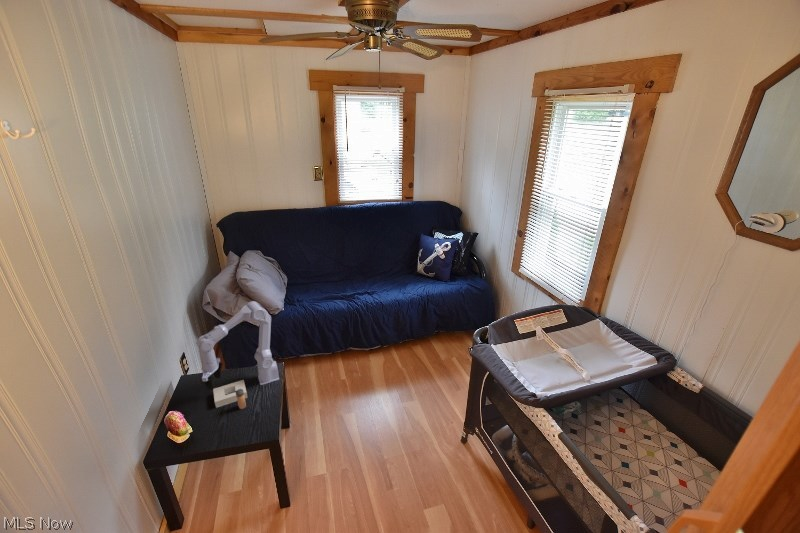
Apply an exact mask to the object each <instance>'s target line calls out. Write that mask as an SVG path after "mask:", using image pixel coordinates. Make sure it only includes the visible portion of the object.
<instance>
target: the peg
mask: <svg viewBox="0 0 800 533" xmlns="http://www.w3.org/2000/svg"><path fill="white" fill-rule="evenodd" d="M235 392H236V396H237V401H236V402H237V406H238V409H240V410H243V409H245V408H246V407H247V403H246V398H245V397H244V392H243V389H238V390H237V391H235Z"/></svg>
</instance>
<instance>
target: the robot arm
mask: <svg viewBox="0 0 800 533" xmlns="http://www.w3.org/2000/svg"><path fill="white" fill-rule="evenodd" d="M252 319H253V320H254V321H258V322H259V329H258V347H257V348H256V352H255V354H254V359H255V361H256V362H257V364H256V367H257V371H258V375H257V379H258V382H259V384H260V386H264V385H266V384H269V383H272V382H276V381H279V380H280V376H279V369H278V365H277V361H276V360H274V359H273V357H272V356H273V355H272V352H271V347H270V346H271V331H272V330H271V329H272V328H271V326H272V316H271V315H270V314H269V312H268V311H267V310H266V308H264V306H262V305H261V304H260V303H259V302H257V301H254V300H252V301H249V302H248V303H247V304H245V305H243V306H242V308H241V309H240V310H239V311H238V312H236V314H235V315H233V316H232V317H231V318H230V319H229V320H228V321H227V322H225V323H223V324H218V325H215V326H214V327H213V329H211V330H210V331H209V332H207V333H205V334H204V335H201V336H200V337H198V338H197V340H196V343H195V344H196V346H198V349H199V356H200V360H201V362H202V365H203V366H202V367H201V370H202V371H203V372H202V376H201V378H200V382H201V383H203V384H204V385H206V387H207V389H208V390H213V389H215V385H214V381H215V379H221V377H222V368H223V365H224V363H223V362H221V358H220V357H216V352H215V350H214V347H215V345H216V344H217V343H218V342H220V341H221V340H222V339H223V338H225V337H226V336H227V335H228V334H229V331H231V329H233V328H234V327H235V326H237V325H239V324H240V323H241V322H243V321H250V322H251V321H253V320H252ZM211 375H213V376H211Z"/></svg>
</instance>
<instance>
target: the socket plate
mask: <svg viewBox="0 0 800 533" xmlns="http://www.w3.org/2000/svg"><path fill="white" fill-rule="evenodd" d="M238 389H243V392H244V397H245V399H247V398H248V392H247V388H246V384H245V380H244V379H242V380H238V381H234V382H231V383H228V384H225V385H222V386H219V387H214V389H212V392H213V399H214V405H215V408H216V409H217V408H219V407H224V406H225V405H226V406H227V405H230V404H233V403H236V402H238V401H237V396H236V391H237V390H238Z"/></svg>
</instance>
